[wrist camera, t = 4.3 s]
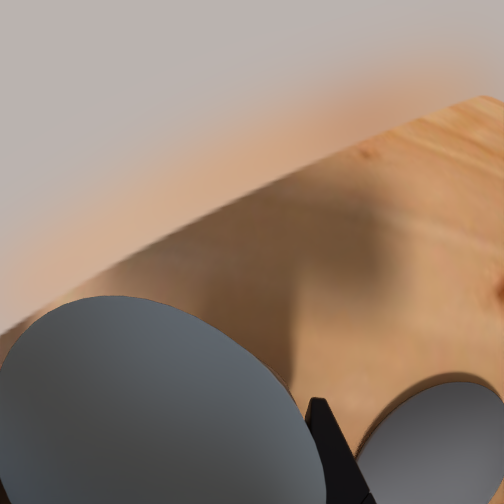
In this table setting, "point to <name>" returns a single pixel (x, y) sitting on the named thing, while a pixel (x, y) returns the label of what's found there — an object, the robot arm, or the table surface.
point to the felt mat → (438, 448)
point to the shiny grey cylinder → (147, 413)
